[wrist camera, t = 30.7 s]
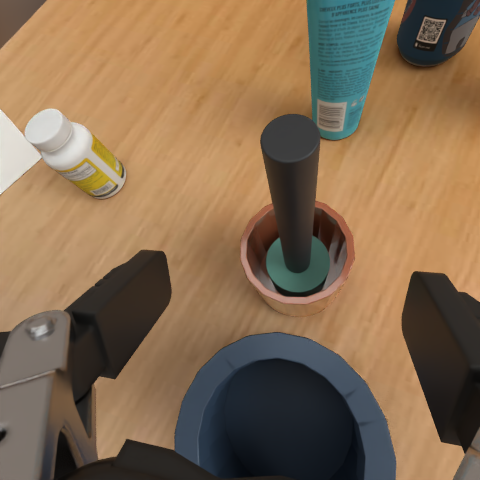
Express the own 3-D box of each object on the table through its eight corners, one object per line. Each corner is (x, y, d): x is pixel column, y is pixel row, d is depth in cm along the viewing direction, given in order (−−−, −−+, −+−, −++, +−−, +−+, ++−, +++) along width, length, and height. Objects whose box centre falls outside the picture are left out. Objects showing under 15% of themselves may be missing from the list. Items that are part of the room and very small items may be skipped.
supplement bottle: (102, 157, 38) (40, 96, 29) (135, 168, 36) (80, 108, 27) (79, 192, 37) (6, 141, 28) (112, 206, 35) (46, 156, 26)
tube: (363, 99, 34) (430, -182, 16) (375, 133, 32) (464, -139, 14) (296, 113, 35) (290, -134, 17) (304, 148, 33) (305, -89, 15)
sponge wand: (298, 312, 26) (290, 235, 9) (259, 272, 28) (189, 145, 11) (338, 273, 27) (404, 127, 9) (297, 236, 29) (289, 59, 11)
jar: (286, 534, 22) (275, 665, 13) (194, 402, 26) (136, 430, 17) (391, 421, 23) (449, 467, 14) (286, 312, 27) (278, 292, 18)
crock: (297, 335, 26) (296, 329, 19) (239, 274, 29) (218, 248, 22) (359, 274, 27) (380, 246, 20) (296, 220, 30) (294, 178, 23)
